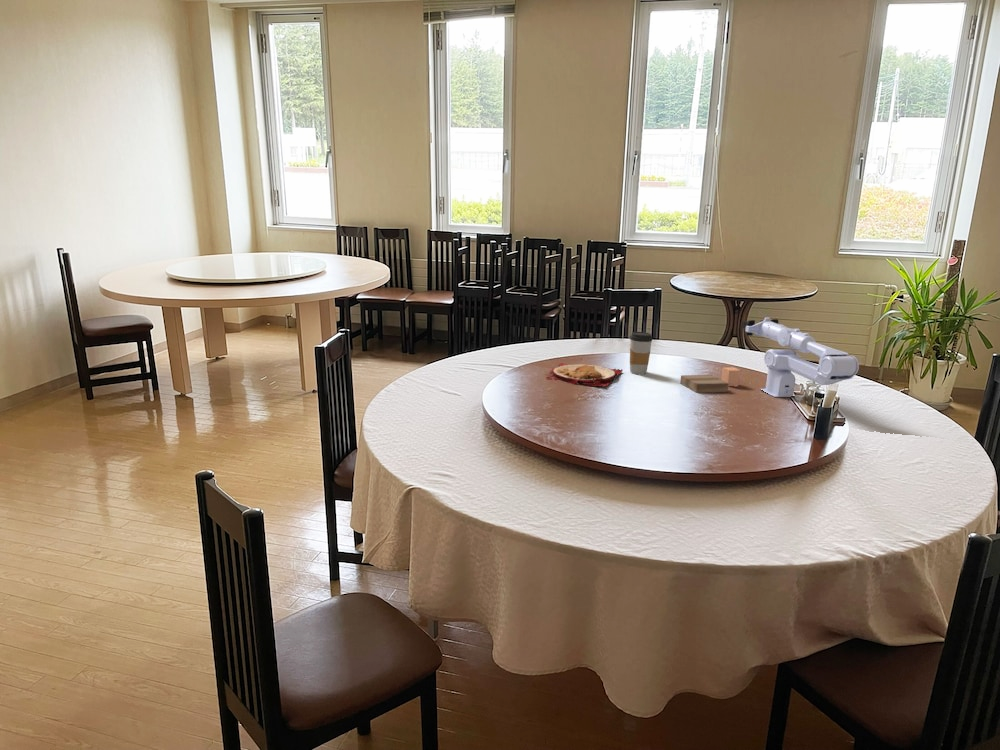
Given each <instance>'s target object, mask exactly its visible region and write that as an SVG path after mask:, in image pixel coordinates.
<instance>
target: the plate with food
mask: <svg viewBox="0 0 1000 750" xmlns="http://www.w3.org/2000/svg"><path fill="white" fill-rule="evenodd" d="M622 372H623V369H622V368H621V369H619V368H613V369H612V368H608V367H605V366H601V365H595V364H594V365H592V364H585V363H584V364H583V363H582V364H580V363H579V364H565V363H559V364H558V367H553V368H552V369H551V370H550V372H549V374H548V375H547V377H545V379H546V380H547V381H553V380H554V381H561V382H564V381H565V382H567V384H571V385H580V383H579V382H583V383H582V384H583V385H587V386H588V387H603V388H604V387H608V386H609V385H611V384H612V382H613V381H614V380H616V379H617V378H618V377H619V375H620V374H622ZM552 375H553V377H552ZM578 381H579V382H578Z"/></svg>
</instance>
